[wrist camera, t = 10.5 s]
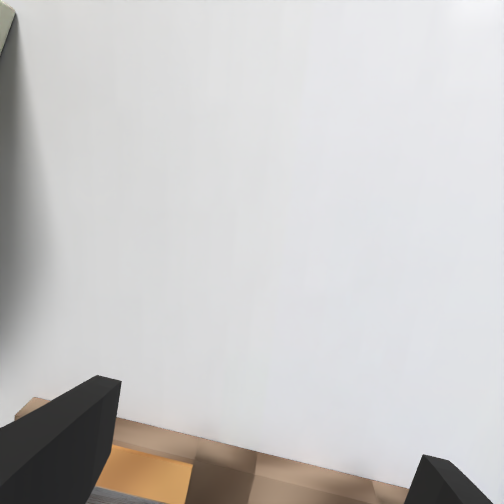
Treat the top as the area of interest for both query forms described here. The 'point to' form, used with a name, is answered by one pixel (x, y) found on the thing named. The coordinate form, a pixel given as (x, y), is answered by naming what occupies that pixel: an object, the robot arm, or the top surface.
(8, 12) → the skincare box
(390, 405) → the top surface
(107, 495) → the steel block
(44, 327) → the top surface
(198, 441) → the socket plate
